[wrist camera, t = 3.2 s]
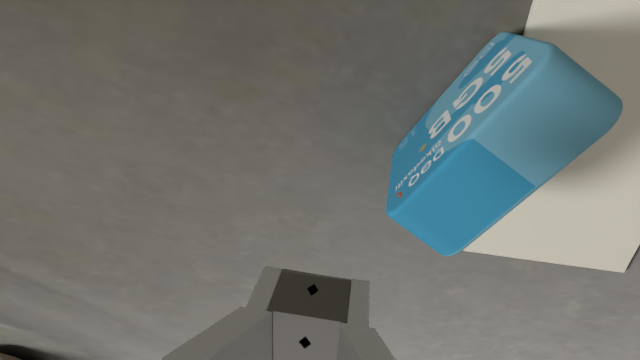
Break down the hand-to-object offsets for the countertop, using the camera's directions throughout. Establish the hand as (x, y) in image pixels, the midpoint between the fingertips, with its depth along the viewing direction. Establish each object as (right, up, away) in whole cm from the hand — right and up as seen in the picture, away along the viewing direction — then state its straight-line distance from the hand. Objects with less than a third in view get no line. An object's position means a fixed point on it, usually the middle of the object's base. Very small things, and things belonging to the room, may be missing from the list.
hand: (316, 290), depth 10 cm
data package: (+11, +9, +18) cm, 23 cm away
